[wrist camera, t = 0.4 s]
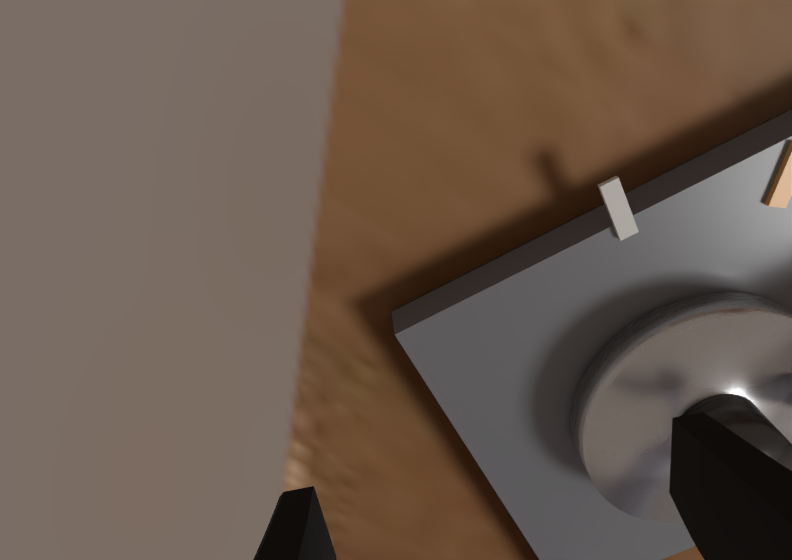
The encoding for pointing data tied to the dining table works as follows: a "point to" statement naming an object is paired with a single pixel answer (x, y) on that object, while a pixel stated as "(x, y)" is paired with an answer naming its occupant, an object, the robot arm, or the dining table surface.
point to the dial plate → (595, 328)
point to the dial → (683, 393)
